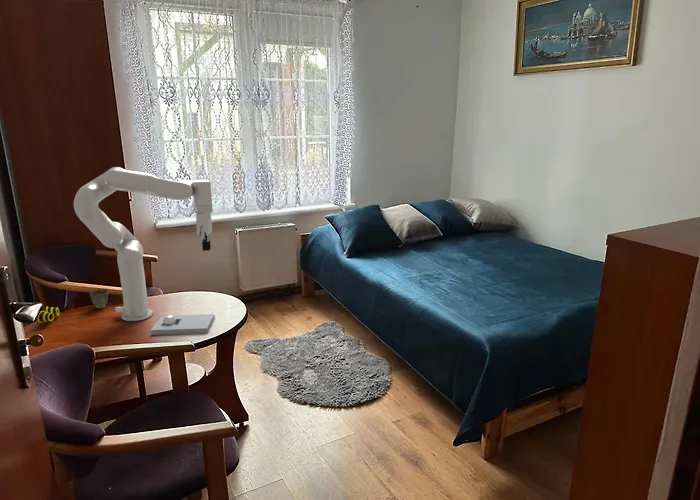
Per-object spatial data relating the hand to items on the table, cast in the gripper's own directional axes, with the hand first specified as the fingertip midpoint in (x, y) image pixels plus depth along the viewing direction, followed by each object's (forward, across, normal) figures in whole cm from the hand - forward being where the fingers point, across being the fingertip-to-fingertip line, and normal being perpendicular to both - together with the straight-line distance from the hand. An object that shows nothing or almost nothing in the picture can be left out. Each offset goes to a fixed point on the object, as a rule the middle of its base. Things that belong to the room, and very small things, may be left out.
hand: (206, 249), depth 215 cm
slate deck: (+27, +20, -7) cm, 35 cm away
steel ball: (+25, +21, -13) cm, 35 cm away
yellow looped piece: (+28, +8, -66) cm, 72 cm away
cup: (+27, -4, -50) cm, 57 cm away
